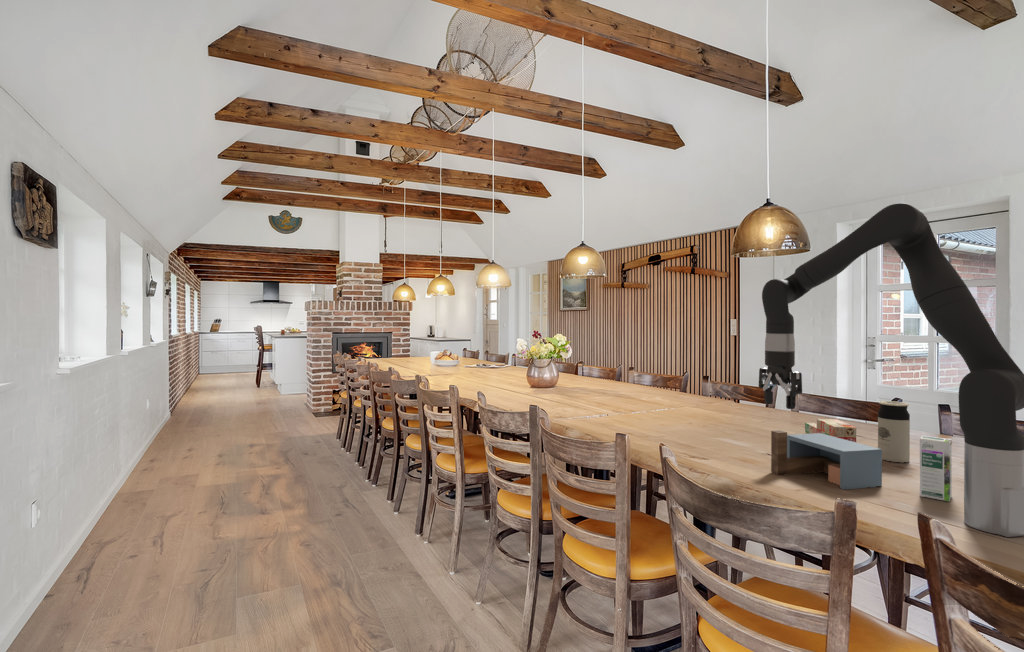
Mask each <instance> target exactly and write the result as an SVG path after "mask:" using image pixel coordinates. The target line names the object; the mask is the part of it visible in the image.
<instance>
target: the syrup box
mask: <svg viewBox="0 0 1024 652" xmlns="http://www.w3.org/2000/svg"><path fill="white" fill-rule="evenodd" d="M952 443H953V442H952V438H943V437H935V436H928V435H922V436H921V437H920V438H919V496H920V497H922V498H928V499H933V500H939V501H943V502H948V503H949V502H950V500H951V498H952V495H953V494H952V493H953V492H952V488H953V487H952V485H953V484H952V481H953V480H952V478H953V477H952V476H953V475H952V472H953V471H952V469H953V468H952V466H953V464H952V461H953V459H952V452H953V451H952Z"/></svg>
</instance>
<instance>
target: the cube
mask: <svg viewBox="0 0 1024 652" xmlns="http://www.w3.org/2000/svg"><path fill="white" fill-rule="evenodd" d="M827 474H828V476H827V478H828V479H827V480H828V482H830V483H832V482H833V484H835V483H836V485H838V486H840V464H832V465H828V473H827Z"/></svg>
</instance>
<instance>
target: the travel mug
mask: <svg viewBox="0 0 1024 652" xmlns="http://www.w3.org/2000/svg"><path fill="white" fill-rule="evenodd" d="M878 404H879V406H880V408H879V409H878V411H877V448H879V449H882V461H885V460H886V462H889V461H891V462H890V463H896V462H900V463H899V464H903V463H904V462H906V463H909V462H910V459H911V457H910V452H911V451H910V450H911V449H910V444H911V443H910V437H911V435H910V432H911V431H910V430H911V429H910V427H911V422H910V421H911V420H910V416H911V415H910V413H909V411H908V407H909V406H910V405H909V403H907V402H901V401H891V400H881V401H880V400H879V402H878Z"/></svg>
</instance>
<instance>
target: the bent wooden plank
mask: <svg viewBox="0 0 1024 652" xmlns="http://www.w3.org/2000/svg"><path fill="white" fill-rule="evenodd" d="M787 435H788V432H787V431H783V430H771V433H770V436H771V437H770V438H771V442H770V443H771V444H770V446H771V449H770V451H771V452H770V455H771V456H770V457H771V459H770V468H771V469H770V473H771V472H772V473H771V474H773V473H774V475H776V474H777V475H776V476H785V475H784V474H789V475H799V473H804V474H814V472H818V473H825V472H826V473H825V474H828V465H832V464H840V463H838V462H835V461H832V460H829V458H828V457H824V456H807V457H791V458H787Z"/></svg>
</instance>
